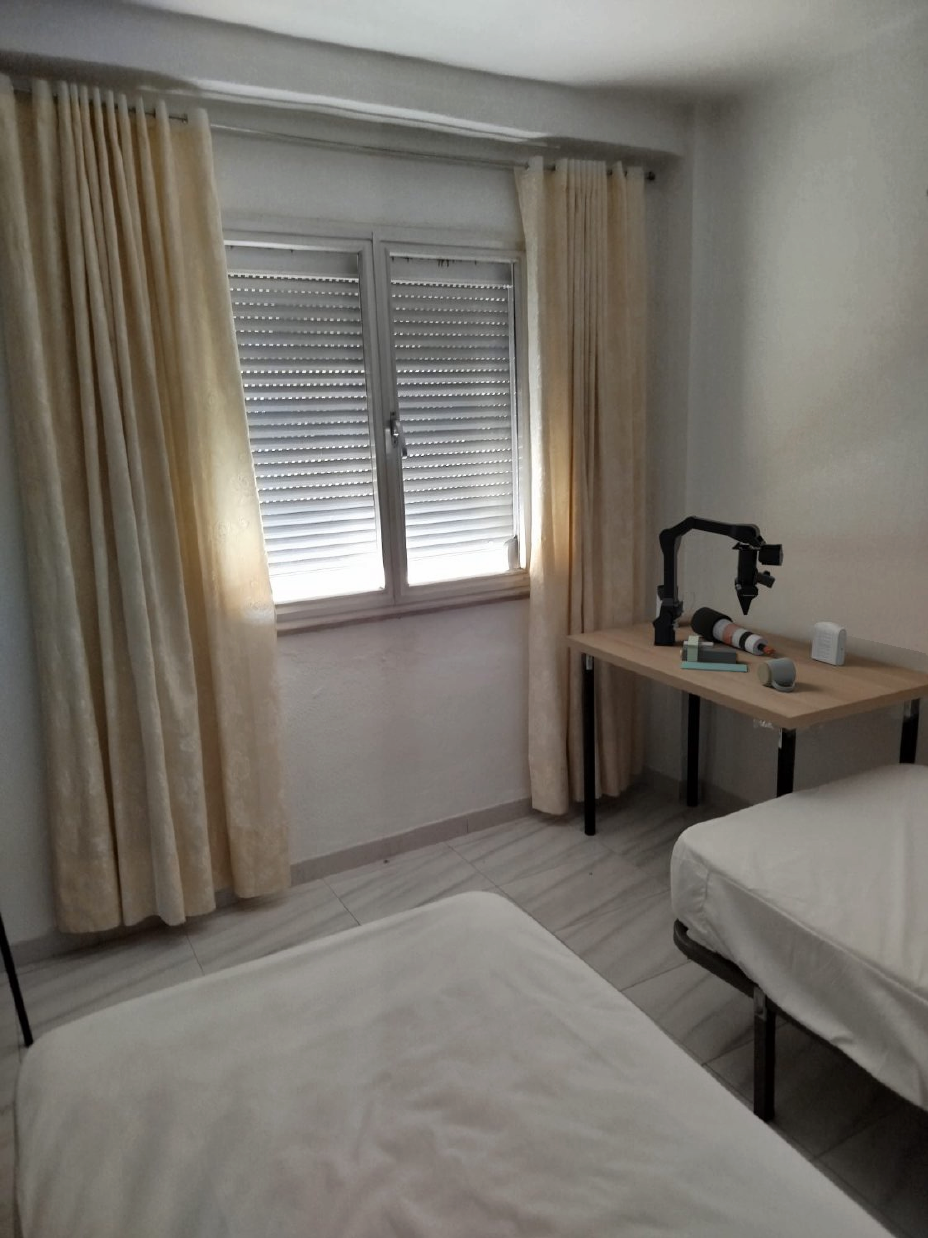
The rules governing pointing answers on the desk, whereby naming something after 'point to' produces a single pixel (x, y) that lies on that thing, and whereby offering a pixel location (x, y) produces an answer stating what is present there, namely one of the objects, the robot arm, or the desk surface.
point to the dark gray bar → (713, 655)
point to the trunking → (701, 644)
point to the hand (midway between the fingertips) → (744, 612)
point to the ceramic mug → (777, 673)
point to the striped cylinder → (727, 631)
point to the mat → (714, 666)
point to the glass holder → (660, 598)
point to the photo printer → (829, 643)
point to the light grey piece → (692, 648)
